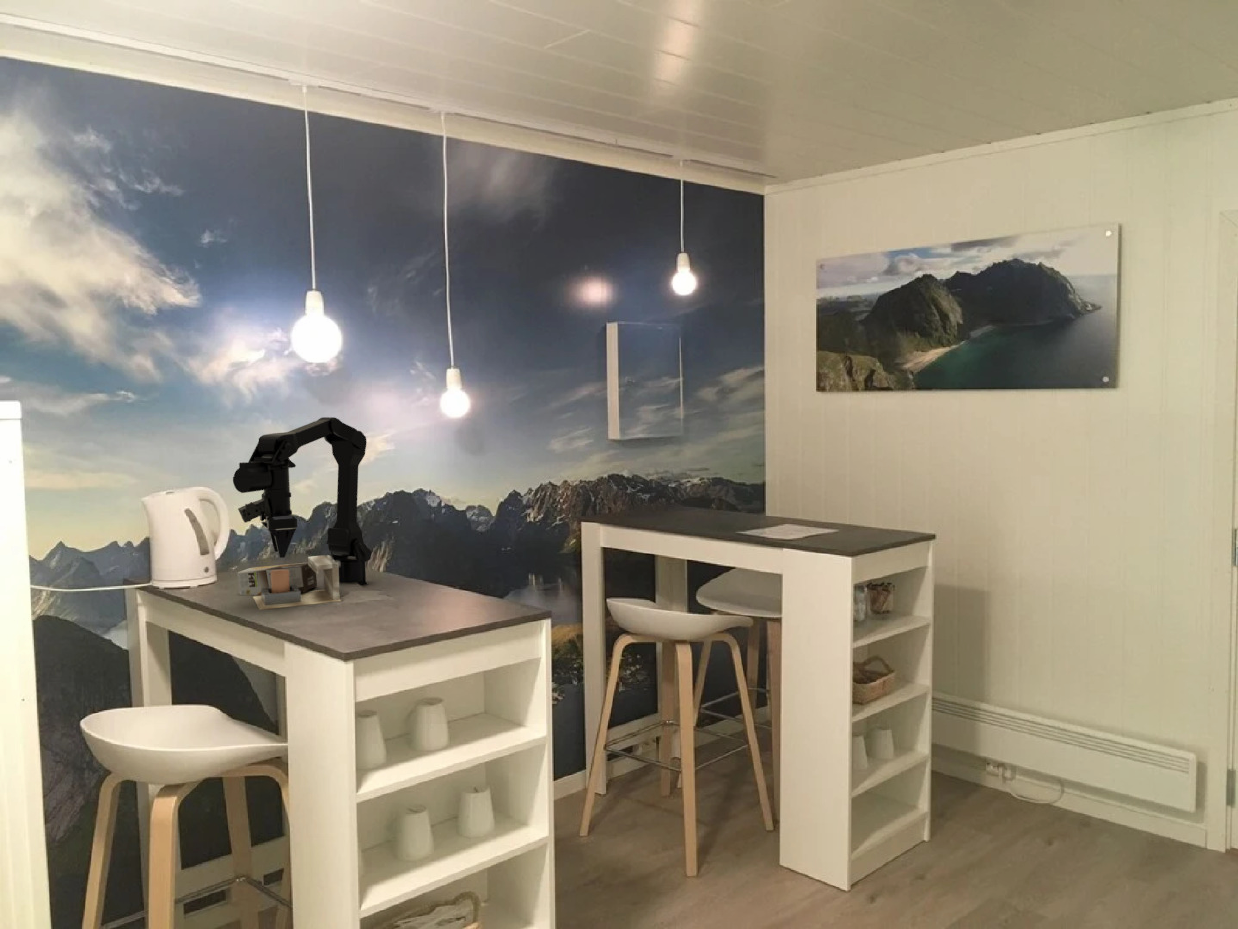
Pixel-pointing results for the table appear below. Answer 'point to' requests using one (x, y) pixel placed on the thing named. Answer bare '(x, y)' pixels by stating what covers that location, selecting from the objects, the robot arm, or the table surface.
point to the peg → (280, 580)
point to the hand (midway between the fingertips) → (279, 554)
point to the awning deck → (315, 596)
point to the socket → (280, 596)
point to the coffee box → (261, 578)
